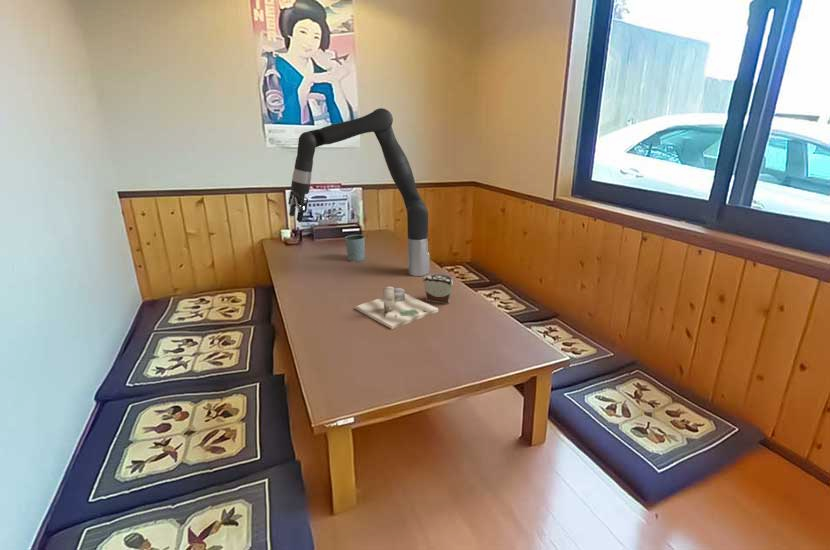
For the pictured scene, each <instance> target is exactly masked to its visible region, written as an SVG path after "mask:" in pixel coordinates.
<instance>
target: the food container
mask: <svg viewBox="0 0 830 550" xmlns="http://www.w3.org/2000/svg"><path fill="white" fill-rule="evenodd" d="M422 282H424V290H425V298H426V301H428V302H434V303H439V304H440V303H441V304H447V305H449V304H450V298H451V290H452V286H453V285H454V282H453V278H452V277H451V276H450V275H448V274H444V273H431V274H430V273H429V274H426V275H424V276H423V279H422Z"/></svg>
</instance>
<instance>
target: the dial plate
mask: <svg viewBox="0 0 830 550" xmlns="http://www.w3.org/2000/svg"><path fill="white" fill-rule="evenodd" d="M394 304H395V309H394V310H390V311H389V312H388V313H384V311H385V309H384V297H383V296H382V297H380V298H376V299H373V300H371V301H367V302H364V303H362V304H359V305H355V310H357V311H358V312H360V313H362V314H365V315H366V316H368V317H369V318H371V319H373V320H375V321H376V322H378V323H380V324H382V325H383V326H385V327H388V328H390V330H393V329H396V328H399V327H402V326H404V325H406V324H410V323H412V322H415V321H417V320H419V319H420V320H421V319H422V318H426V317H428V316H430V315H432V314H435V313H438V312H439V308H438V307H436V306H434V305H432V304H430V303H427V302H424V301H422V300H420V299H418V298H415V297H414V296H412V295H409V294H407V293H405V299H404V300H401V301H396V302H395V303H394Z"/></svg>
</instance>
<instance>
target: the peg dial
mask: <svg viewBox="0 0 830 550" xmlns="http://www.w3.org/2000/svg"><path fill="white" fill-rule="evenodd" d="M405 292H406V291H405V289H404V288H400V287H395V288H394V287H393V286H385V287H383V288H382V293H383V295H382V297H384V309H385V311H384V313H388V312H389V311H390V310H394V309H395V304H394V303H395V302H396V301H401V300H404V299H405V294H406V293H405Z"/></svg>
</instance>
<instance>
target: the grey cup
mask: <svg viewBox="0 0 830 550" xmlns="http://www.w3.org/2000/svg"><path fill="white" fill-rule="evenodd" d="M365 238H366V237H365V235H363V234H350V235H347V236H345V237H344V241H345V246H346V249H345V250H346V254H347V260H348V261H349V262H351V261H359V262H362V261H361V260H363V261H365V256H366V255H365V251H366V247H365V245H366V243H365V240H366V239H365Z"/></svg>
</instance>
